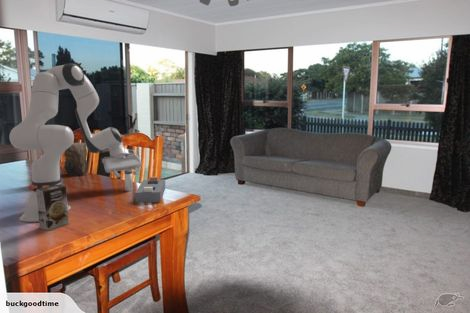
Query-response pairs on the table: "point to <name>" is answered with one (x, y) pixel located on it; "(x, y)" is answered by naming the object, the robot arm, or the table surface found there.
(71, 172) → the owl
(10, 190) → the table surface
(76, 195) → the table surface
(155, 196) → the socket block
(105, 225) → the table surface
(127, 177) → the plug
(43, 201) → the coffee box
